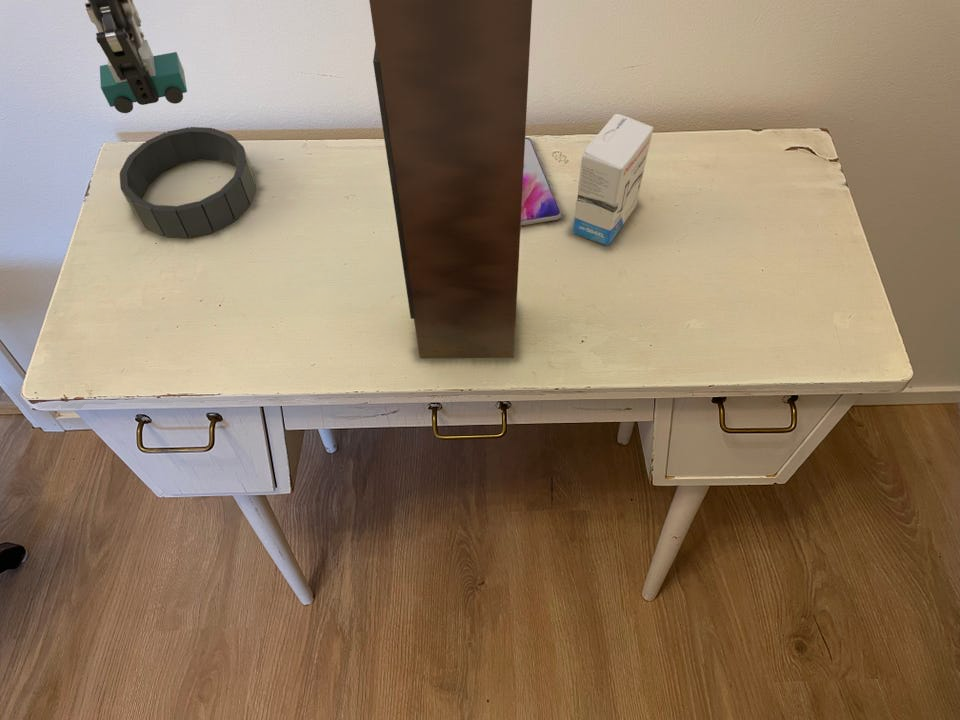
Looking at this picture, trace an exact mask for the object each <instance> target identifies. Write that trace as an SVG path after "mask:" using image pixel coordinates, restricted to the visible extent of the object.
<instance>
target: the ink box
mask: <svg viewBox="0 0 960 720" xmlns="http://www.w3.org/2000/svg"><path fill="white" fill-rule="evenodd" d="M653 133H654V126H652V125H649V124H647V123H644V122H641V121H639V120H636V119H633V118H631V117H629V116H626V115H623V114H621V113H615V114H614V115H612V117H611V118H610V119H609V120H608V122H606V124H605V125H604V127H603V128H602V129H601V130H600V131H599V132H598V134H597V135H596V136H595V137H594V138H593V139H592V141H591V142H590V143H589V144H588V145H587V146H586V147H585V148H584V153H583V154H582V156H581V163H580V171H579V179H578V185H577V186H578V187H577V196H576V197H577V198H576V202H575V205H576V206H575V212H574V220H573V228H572V233H573V234H575V235H578V236H580V237H583V238H586V239H588V240H590V241H592V242H596V243H598V244H601V245H604V246H606V247H607V246H610V244H611V243H612V242H613V240H614V239H615V237H616V236H617V235H618V233H619V232H620V230H621V228H622V227H623V226H624V224H625V222H626V221H627V220H628V219H629V217H630V216H631V214H632V212H633V211H634V210H635V208H636V207H637V204H638V199H639V194H640V190H641V186H642V181H643V177H644V171H645V167H646V163H647V160H648V159H647V158H648V154H649V151H650V145H651V141H652V136H653Z"/></svg>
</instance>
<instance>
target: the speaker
mask: <svg viewBox="0 0 960 720" xmlns="http://www.w3.org/2000/svg"><path fill="white" fill-rule="evenodd" d="M368 1H369V9H370V15H371V23H372V31H373V36H374V37H373V38H374V44H375V46H374V52H373V59H372V65H373V71H374V77H375V83H376V91H377V98H378V104H379V112H380V118H381V124H382V131H383V132H382V134H383V138H384V144H385V145H384V146H385V152H386V159H387V166H388V172H389V173H388V174H389V179H390V186H391V194H392V201H393V207H394V214H395V220H396V221H395V222H396V228H397V235H398V241H399V242H398V243H399V250H400V256H401V261H402V269H403V276H404V282H405V289H406V295H407V296H406V297H407V304H408V309H409V316H410V319H411V320H413V321H414V322H413V323H414V330H415V335H416V343H417V350H418V357H419V359H492V358H493V359H499V358H500V359H505V358H506V359H509V358H514V357H515V342H516V341H515V340H516V323H517V304H518V286H519V266H520V265H519V263H520V245H521V228H522V227H521V226H522V225H521V209H522V189H523V170H524V151H525V137H526V131H527V111H528V110H527V108H528V107H527V106H528V92H529V91H528V90H529V74H530V73H529V71H530V53H531V35H532V34H531V33H532V32H531V31H532V16H533V15H532V13H533V0H368Z"/></svg>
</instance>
